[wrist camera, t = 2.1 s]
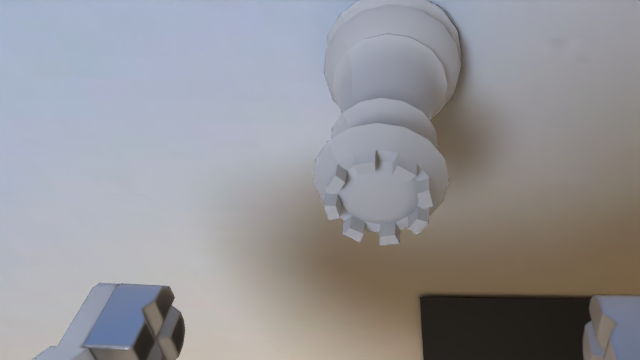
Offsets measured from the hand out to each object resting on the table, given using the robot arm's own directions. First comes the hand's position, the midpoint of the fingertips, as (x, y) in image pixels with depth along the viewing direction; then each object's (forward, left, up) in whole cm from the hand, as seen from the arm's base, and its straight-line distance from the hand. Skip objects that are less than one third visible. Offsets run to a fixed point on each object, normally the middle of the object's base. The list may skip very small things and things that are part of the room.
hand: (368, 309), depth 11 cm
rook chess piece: (0, 0, -11) cm, 11 cm away
